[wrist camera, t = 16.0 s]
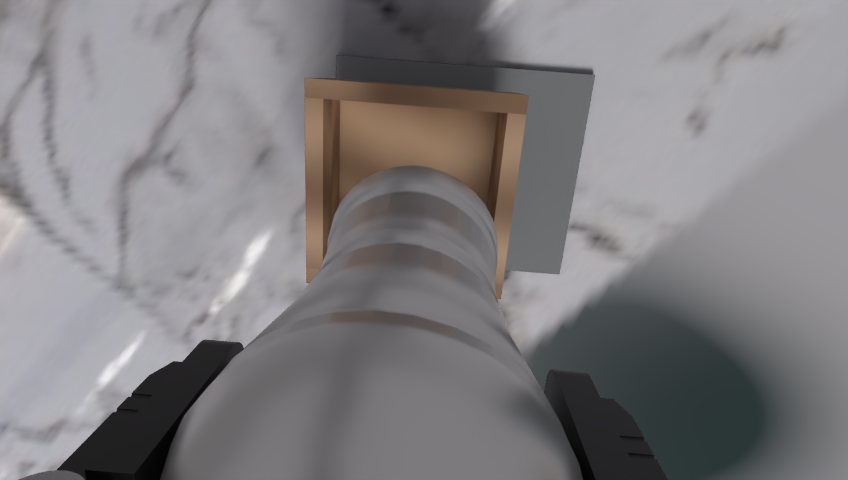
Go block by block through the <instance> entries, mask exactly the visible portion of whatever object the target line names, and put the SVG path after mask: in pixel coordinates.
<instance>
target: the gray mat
mask: <svg viewBox="0 0 848 480" xmlns="http://www.w3.org/2000/svg"><path fill="white" fill-rule="evenodd" d="M336 79H347V80H360V81H373V82H386V83H399V84H412V85H425V86H438V87H451V88H464V89H477V90H490V91H503V92H515V93H520V94H525V95H529V100H528V107H527V114H526V121H525V128H524V136H523V143H522V150H521V157H520V164H519V172H518V179H517V186H516V193H515V200H514V208H513V215H512V222H511V229H510V236H509V244H508V251H507V258H506V265H505V270H512V271H524V272H536V273H549V274H559V273H560V268H561V262H562V257H563V251H564V245H565V240H566V234H567V229H568V223H569V218H570V212H571V207H572V201H573V196H574V190H575V184H576V179H577V173H578V168H579V162H580V157H581V151H582V146H583V140H584V134H585V129H586V123H587V118H588V112H589V107H590V101H591V96H592V90H593V84H594V79H595V75H589V74H576V73H562V72H549V71H536V70H523V69H510V68H497V67H484V66H471V65H458V64H445V63H432V62H419V61H406V60H392V59H379V58H366V57H353V56H340V55H336Z"/></svg>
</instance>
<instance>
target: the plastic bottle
mask: <svg viewBox="0 0 848 480" xmlns="http://www.w3.org/2000/svg"><path fill="white" fill-rule="evenodd" d="M497 265H498V239H497V232H496V229H495V225H494V221H493V219H492V217H491V215H490V213H489V211H488V209H487V207H486V205H485V204H484V203H483V202H482V200H481V199H480V198H479V197H478V196H477V194H476V193H475V192H474V191H473V190H471V189H470V188H469V187H468V186H467V185H465V184H464V183H463V182H462V181H460V180H458V179H457V178H455V177H453V176H451V175H449V174H448V173H446V172H444V171H441V170H438V169H435V168H431V167H427V166H418V165H407V166H397V167H393V168H389V169H386V170H382V171H378V172H376V173H374V174H372V175H370V176H368V177H366V178H365V179H363V180H362V181H360V182H359V183H358V184H357V185H355V186H354V187H353V188H352V189H351V190H350V191H349V192H348V193H347V195H346V196H345V197H344V198H343V200H342V201H341V203H340V205H339V207H338V209H337V211H336V213H335V215H334V218H333V222H332V225H331V229H330V233H329V237H328V242H327V253H326V255H325V258H324V260H323V263H322V266H321V268H320V270H319V271H318V273H317V274H316V275H315V277H314V278H313V280H312V281H311V282H310V283H309V284H308V286H307V287H306V288H305V290H304V291H303V292H302V294H301V295H300V296H299V298H298V299H297V300H296V301H295V302H294V303H293V304H292V305H290V306H289V307H288V308H287V309H286V310H285V311H284V312H283V313H282V314H281V315H280V316H279V317H277V318H276V319H275V320H274V321H273V322H272V323H271V324H270V325H269V326H268V327H267V328H266V329H264V330H263V331H262V332H261V333H260V334H259V335H258V336H257V337H256V338H255V339H254V340H253V341H251V342H250V343H249V344H248V345H247V346H246V347H245V348H244V349H243V350H242V351H241V352H240V353H239V354H237V355H236V356H235V357H234V358H233V359H232V360H231V361H230V362H229V364H228V365H227V366H226V367H225V368H224V370H223V371H222V372H221V373H220V374H219V375H218V376H217V378H216V379H215V380H214V381H213V382H212V383H211V384H210V385H209V386H208V387H207V389H206V390H205V391H204V392H203V393H202V394H201V396H200V397H199V398H198V399H197V400H196V402H195V403H194V404H193V405H192V407H191V408H190V409H189V410H188V411H187V413H186V414H185V415H184V417H183V419H182V421H181V423H180V425H179V427H178V430H177V432H176V434H175V436H174V438H173V441H172V443H171V445H170V448H169V452H168V455H167V458H166V461H165V465H164V468H163V471H162V475H161V478H160V480H583V477H582V473H581V469H580V465H579V462H578V460H577V458H576V456H575V454H574V452H573V450H572V447H571V445H570V443H569V441H568V439H567V436H566V434H565V432H564V429H563V427H562V425H561V422H560V421H559V419H558V417H557V415H556V414H555V412H554V410H553V408H552V406H551V405H550V403H549V401H548V399H547V397H546V396H545V394H544V393H543V391H542V390H541V388H540V386H539V384H538V383H537V381H536V379H535V377H534V376H533V374H532V372H531V371H530V369H529V367H528V365H527V363H526V362H525V360H524V358H523V356H522V355H521V353H520V351H519V349H518V348H517V346H516V344H515V342H514V341H513V339H512V337H511V335H510V332H509V329H508V327H507V324H506V321H505V319H504V316H503V313H502V311H501V308H500V306H499V304H498V300H497V297H496V290H495V277H496V271H497Z"/></svg>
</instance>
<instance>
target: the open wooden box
mask: <svg viewBox="0 0 848 480" xmlns="http://www.w3.org/2000/svg"><path fill="white" fill-rule="evenodd" d="M528 100H529V95H525V94H520V93H515V92H503V91H490V90H477V89H464V88H451V87H438V86H425V85H412V84H399V83H386V82H373V81H360V80H347V79H334V78H305V178H306V283H310V282H311V281H312V280H313V278H314V277H315V275H316V274H317V273H318V271H319V270H320V268H321V266H322V263H323V260H324V258H325V255H326V253H327V242H328V237H329V233H330V229H331V225H332V222H333V218H334V215H335V213H336V211H337V209H338V207H339V205H340V203H341V201H342V200H343V198H344V197H345V196H346V195H347V193H348V192H349V191H350V190H351V189H352V188H353V187H354V186H355V185H357V184H358V183H359V182H360V181H362V180H363V179H365V178H366V177H368V176H370V175H372V174H374V173H376V172H378V171H382V170H386V169H389V168H393V167H397V166H407V165H418V166H427V167H431V168H435V169H438V170H441V171H444V172H446V173H448V174H449V175H451V176H453V177H455V178H457V179H458V180H460V181H462V182H463V183H464V184H465V185H467V186H468V187H469V188H470V189H471V190H473V191H474V192H475V193H476V194H477V196H478V197H479V198H480V199H481V200H482V202H483V203H484V204H485V205H486V207H487V209H488V211H489V213H490V215H491V217H492V219H493V221H494V225H495V229H496V232H497V239H498V265H497V271H496V277H495V290H496V297H497V299H501V294H502V287H503V280H504V272H505V265H506V258H507V251H508V244H509V236H510V229H511V222H512V215H513V208H514V200H515V193H516V186H517V179H518V172H519V164H520V157H521V150H522V143H523V136H524V128H525V121H526V114H527V107H528Z"/></svg>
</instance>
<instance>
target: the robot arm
mask: <svg viewBox="0 0 848 480" xmlns="http://www.w3.org/2000/svg"><path fill="white" fill-rule="evenodd" d="M243 349H244V348H243V345H242V344H241V343H239V342H227V341H215V340H203V341H201V342H200V343H199V344H198V345H197V346H196V348H195V349H194V350H193V351H192V352H191V353H190V354H189V355H188V356H187V357H186V359H185V360H184V361H183V362H175V361H173V362H172V363H170V364H168V365H167V366H165V367H163V368H161V369H160V370H158V371H156V372H154V373H153V374H151V375H149V376H148V377H147V378H146V379H145V380H144V381H143V382H142V383H141V384H140V385H139V386H138V387H137V388H136V389H135V390H134V391H133V393H132V396H131V397H128V398H127V399H126V400H125V401H124V402H123V403H122V404H121V405H120V406H119V407H118V408H117V411H116V412H113V413H112V414H111V415H110V416H109V417H108V418H107V419H106V420H105V421H104V422H103V423H102V424H101V425H100V426H99V427H98V428H97V429H96V430H95V431H94V432H93V433H92V434H91V435H90V436H89V437H88V438H87V439H86V441H85V442H84V443H83V444H82V445H81V446H80V447H79V448H78V449H77V450H76V451H75V452H74V453H73V454H72V455H71V456H70V457H69V458H68V459H67V460H66V461H65V462H64V463H63V464H62V465H61V466H60V467H59V468H58V469H57V470H55V471H46V472H41V473H37V474H34V475H30V476H27V477H24V478H22V479H19V480H160V478H161V475H162V471H163V468H164V465H165V461H166V458H167V455H168V452H169V448H170V445H171V443H172V441H173V438H174V436H175V434H176V432H177V430H178V427H179V425H180V423H181V421H182V419H183V417H184V415H185V414H186V413H187V411H188V410H189V409H190V408H191V407H192V405H193V404H194V403H195V402H196V400H197V399H198V398H199V397H200V396H201V394H202V393H203V392H204V391H205V390H206V389H207V387H208V386H209V385H210V384H211V383H212V382H213V381H214V380H215V379H216V378H217V376H218V375H219V374H220V373H221V372H222V371H223V370H224V368H225V367H226V366H227V365H228V364H229V362H230V361H231V360H232V359H233V358H234V357H235V356H236V355H237V354H239V353H240V352H241V351H242V350H243ZM544 394H545V396H546V397H547V399H548V401H549V403H550V405H551V406H552V408H553V410H554V412H555V414H556V415H557V417H558V419H559V421H560V422H561V425H562V427H563V429H564V432H565V434H566V436H567V439H568V441H569V443H570V445H571V447H572V450H573V452H574V454H575V456H576V458H577V460H578V462H579V465H580V469H581V473H582V477H583V480H668V479H667V477H666V475H665V474H664V472H663V470H662V468H661V466H660V465H659V463H658V461H657V460H655V459H654V454H653V452H652V450H651V449H650V447H649V445H648V443H647V442H645V441H644V436H643V434H642V433H641V431H640V429H639V427H638V426H637V424H636V422H635V420H634V418H633V417H632V416H631V415H630V414H629V413H628V412H627V411H626V410H624V409H623V408H622V407H621V406H620V405H619V404H618V403H617V402H616V401H615V400H614V399H606V398H600V396H599V394H598V392H597V390H596V388H595V386H594V384H593V382H592V380H591V378H590V376H589V374H588V373H586V372H577V371H564V370H553V369H552V370H550V371H549V373H548V375H547V379H546V384H545V390H544Z"/></svg>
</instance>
